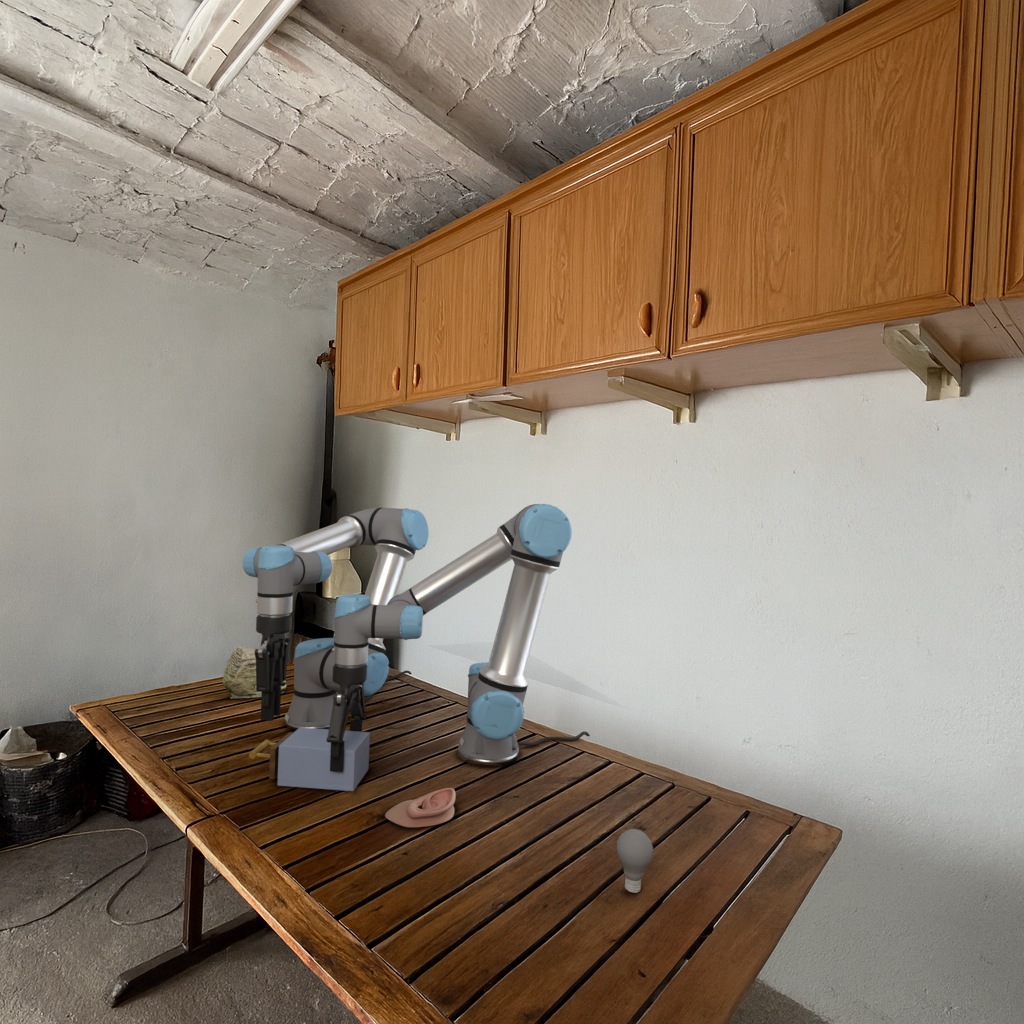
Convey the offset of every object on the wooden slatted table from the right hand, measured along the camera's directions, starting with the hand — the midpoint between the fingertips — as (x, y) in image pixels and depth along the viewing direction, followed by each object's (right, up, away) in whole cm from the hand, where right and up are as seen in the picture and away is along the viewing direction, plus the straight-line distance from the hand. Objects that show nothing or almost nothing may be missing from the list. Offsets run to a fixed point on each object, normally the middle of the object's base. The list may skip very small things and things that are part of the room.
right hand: (346, 759), depth 143 cm
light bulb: (+57, -8, -37) cm, 69 cm away
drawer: (-11, -3, +1) cm, 11 cm away
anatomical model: (+19, -6, -15) cm, 25 cm away
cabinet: (-5, -4, 0) cm, 7 cm away
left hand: (-18, +9, +1) cm, 20 cm away
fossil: (-43, -2, +55) cm, 70 cm away
